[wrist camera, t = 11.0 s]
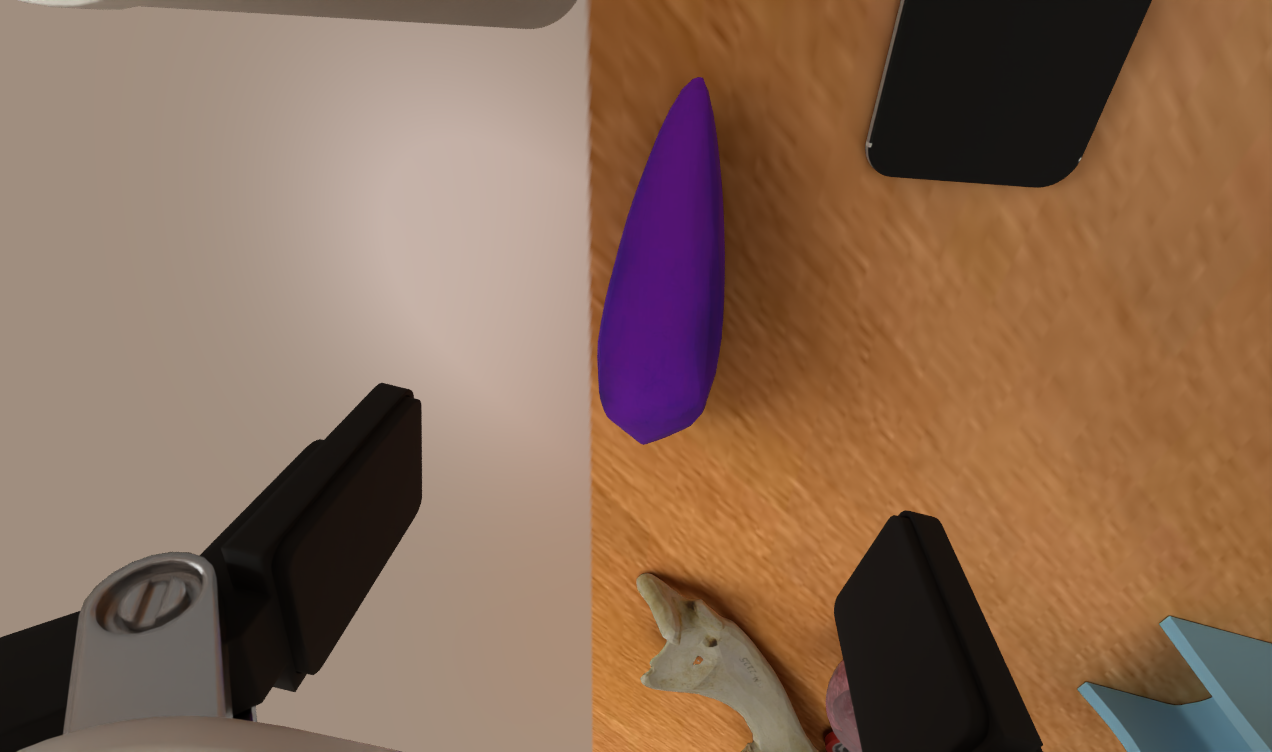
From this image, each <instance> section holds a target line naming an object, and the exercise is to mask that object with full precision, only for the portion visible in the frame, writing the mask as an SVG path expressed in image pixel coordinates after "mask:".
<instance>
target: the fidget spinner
mask: <svg viewBox="0 0 1272 752" xmlns="http://www.w3.org/2000/svg"><path fill="white" fill-rule="evenodd" d="M825 747H826V751H827V752H850V751H849V750H848V749H847V748H846V747H845V746H844V745H843V744H842V743H841V742H840V741H839V740H838V738H837V737H836V735H835V733H834V732H831V733H829V734H827V736H826V737H825Z"/></svg>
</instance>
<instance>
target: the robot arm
mask: <svg viewBox="0 0 1272 752" xmlns="http://www.w3.org/2000/svg"><path fill="white" fill-rule="evenodd" d="M421 430H422V425H421V402H420V400H418V399H414V395H413V392H412V391H411V390H409V389H405V388H401V387H397V386H393V385H389V384H385V383H380V384H378V385H377V386H376V387H375V388H374V389H373V390H372V391H371V392H370V393H369V394H368V395H367V396H366V397H365V398H364V399H363V400H362V401H361V402H360V403H359V404H358V405H357V406H356V407H355V408H354V410H352V412H351V413H350V414H349V415H348V416H347V417H346V418H345V419H344V420H343V421H342V422H341V423H340V424H339V425H338V426H337V427H336V428H335V429H334V430H333V431H332V432H331V433H330V434H329V436H327V438H326V439H325V440H320V439H319V440H316V441H314V442H312V443H311V444H310V445H309V446H307V447H306V448H305V449H304V450H303V451H302V452H301V453H300V454H299V455H298V456H297V457H296V458H295V459H294V460H293V461H292V462H291V463H290V464H289V465H288V466H287V467H286V468H285V470H283V471H282V472H281V473H280V474H279V476H278V477H277V478H276V479H275V480H274V481H273V482H272V483H271V484H270V485H269V486H268V487H267V488H266V489H265V490H264V491H263V492H262V493H261V494H260V495H259V496H258V497H257V498H256V499H255V500H254V501H253V502H252V503H251V504H250V505H249V506H248V507H247V508H246V509H245V510H244V511H243V512H242V513H241V514H240V515H239V516H238V517H237V518H236V519H235V520H234V521H233V522H232V523H231V524H230V525H229V527H227V528H226V529H225V530H224V531H223V532H222V533H221V534H220V536H218V537H217V539H215V540H214V541H213V543H211V545H210V546H209V547H208V548H207V549H206V550H205V551H204V552H203V553H202V554H201V555H200V556H198V555H195V554H192V553H189V552H188V553H187V552H168V553H162V554H156V555H151V556H148V557H146V558H143V559H140V560H137V561H134V562H132V563H130V564H128V565H126V566H125V567H122V568H121V569H119V570H117V571H115V572H114V573H112V574H111V575H109V576H108V577H107V578H106V579H104V580H103V581H102V582H101V583H99V584H98V585H97V586H96V587H95V588H94V589H93V591H92V592H91V593H90V594H89V596H88V597H87V598H86V599H85V601H84V603H83V606H82V609H81V611H78V612H75V613H72V614H70V615H67V616H63V617H60V618H57V619H54V620H51V621H48V622H45V623H42V624H40V625H36V626H33V627H31V628H27V629H24V630H22V631H18V632H15V633H12V634H10V635H6V636H3V637H1V638H0V752H400V751H397V750H392V749H387V748H384V747H379V746H374V745H370V744H365V743H360V742H355V741H351V740H345V739H341V738H336V737H332V736H327V735H322V734H318V733H312V732H308V731H303V730H299V729H294V728H289V727H284V726H278V725H272V724H265V723H259V722H257V715H256V705H258V704H260V703H262V702H263V700H264V699H265V697H266V696H267V694H268V693H269V691H270V690H271V688H272V687H276V688H280V689H284V690H288V691H292V692H296V690H297V688H298V687H299V685H300V684H301V682H302V681H303V679H304V678H305V676H306V674H310V675H314V674H316V673H317V672H318V671H319V670H320V669H321V667H322V666H323V664H324V663H325V661H326V660H327V658H328V656H329V655H330V653H331V652H332V650H333V648H334V647H335V645H336V643H337V642H338V640H339V639H340V637H341V635H342V634H343V632H344V631H345V629H346V627H347V626H348V624H349V623H350V621H351V619H352V618H353V616H354V615H355V613H356V611H357V610H358V608H359V606H360V605H361V603H362V602H363V600H364V598H365V597H366V595H367V593H368V592H369V590H370V589H371V587H372V585H373V584H374V582H375V580H376V579H377V577H378V576H379V574H380V573H381V571H382V569H383V568H384V566H385V564H386V563H387V561H388V559H389V558H390V556H391V555H392V553H393V552H394V550H395V548H396V547H397V545H398V544H399V542H400V540H401V539H402V537H403V535H404V534H405V532H406V530H407V529H408V527H409V526H410V524H411V523H412V521H413V519H414V518H415V516H416V514H417V512H418V510H419V507H420V504H421V500H422V436H421V435H422V434H421V433H422V431H421ZM834 616H835V622H836V626H837V631H838V636H839V641H840V646H841V651H842V656H843V661H844V666H845V671H846V675H847V680H848V685H849V690H850V695H851V700H852V705H853V710H854V715H855V720H856V724H857V729H858V734H859V739H860V744H861V749H862V752H1043V751H1042V749H1041V746H1043V743H1042V741H1041V739H1040V737H1039V735H1038V733H1037V730H1036V728H1035V726H1034V724H1033V722H1032V719H1031V717H1030V715H1029V713H1028V711H1027V709H1026V706H1025V704H1024V702H1023V700H1022V698H1021V696H1020V693H1019V691H1018V689H1017V687H1016V685H1015V683H1014V680H1013V678H1012V676H1011V674H1010V672H1009V669H1008V667H1007V665H1006V663H1005V661H1004V659H1003V656H1002V654H1001V652H1000V650H999V648H998V646H997V643H996V641H995V639H994V637H993V635H992V633H991V630H990V628H989V626H988V624H987V622H986V620H985V617H984V615H983V613H982V611H981V609H980V606H979V604H978V602H977V600H976V598H975V596H974V593H973V591H972V589H971V587H970V585H969V583H968V580H967V578H966V576H965V574H964V572H963V570H962V567H961V565H960V563H959V561H958V559H957V556H956V554H955V552H954V550H953V548H952V546H951V543H950V541H949V539H948V537H947V535H946V533H945V530H944V528H943V526H942V524H941V522H940V521H939V520H938V519H937V518H935V517H932V516H928V515H924V514H920V513H915V512H911V511H903V512H901V513H900V514H899V515H898V516H895V515H893V516H891V517H890V518H889V520H888V521H887V523H886V524H885V526H884V527H883V529H882V530H881V532H880V533H879V535H878V536H877V538H876V539H875V541H874V542H873V544H872V545H871V547H870V548H869V550H868V551H867V553H866V554H865V556H864V557H863V559H862V560H861V562H860V563H859V565H858V566H857V568H856V569H855V571H854V572H853V574H852V575H851V577H850V578H849V580H848V581H847V583H846V584H845V586H844V587H843V589H842V590H841V592H840V593H839V595H838V596H837V598H836V601H835V606H834Z"/></svg>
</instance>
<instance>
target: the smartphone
mask: <svg viewBox="0 0 1272 752" xmlns="http://www.w3.org/2000/svg"><path fill="white" fill-rule="evenodd" d="M1151 1H1152V0H901V2H900V6H899V10H898V14H897V18H896V23H895V27H894V31H893V35H892V39H891V43H890V47H889V51H888V55H887V59H886V63H885V67H884V71H883V75H882V79H881V83H880V87H879V92H878V96H877V100H876V104H875V108H874V112H873V116H872V120H871V124H870V128H869V132H868V136H867V140H866V147H865V151H866V157H867V160H868V162H869V163H870V165H871V166H872V167H873V168H874V169H875V170H876V171H877V172H879V173H880V174H882V175H885V176H889V177H899V178H913V179H926V180H940V181H954V182H967V183H981V184H994V185H1008V186H1022V187H1046V186H1050V185H1053V184H1055V183H1057V182H1059V181H1061V180H1062V179H1064V178H1065V177H1067V176H1068V175H1069V174H1070V173H1071V172H1072V171H1073V170H1074V169H1075V168H1076V166H1077V165H1078V163H1079V162H1080V160H1081V158H1082V156H1083V154H1084V152H1085V149H1086V147H1087V145H1088V143H1089V140H1090V138H1091V136H1092V134H1093V131H1094V129H1095V127H1096V125H1097V122H1098V120H1099V118H1100V116H1101V113H1102V111H1103V109H1104V107H1105V104H1106V102H1107V100H1108V98H1109V95H1110V93H1111V91H1112V89H1113V86H1114V84H1115V82H1116V80H1117V77H1118V75H1119V73H1120V71H1121V68H1122V66H1123V64H1124V62H1125V60H1126V57H1127V55H1128V53H1129V51H1130V48H1131V46H1132V44H1133V42H1134V39H1135V37H1136V35H1137V33H1138V30H1139V28H1140V26H1141V24H1142V21H1143V19H1144V17H1145V15H1146V12H1147V10H1148V8H1149V6H1150V3H1151Z"/></svg>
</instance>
